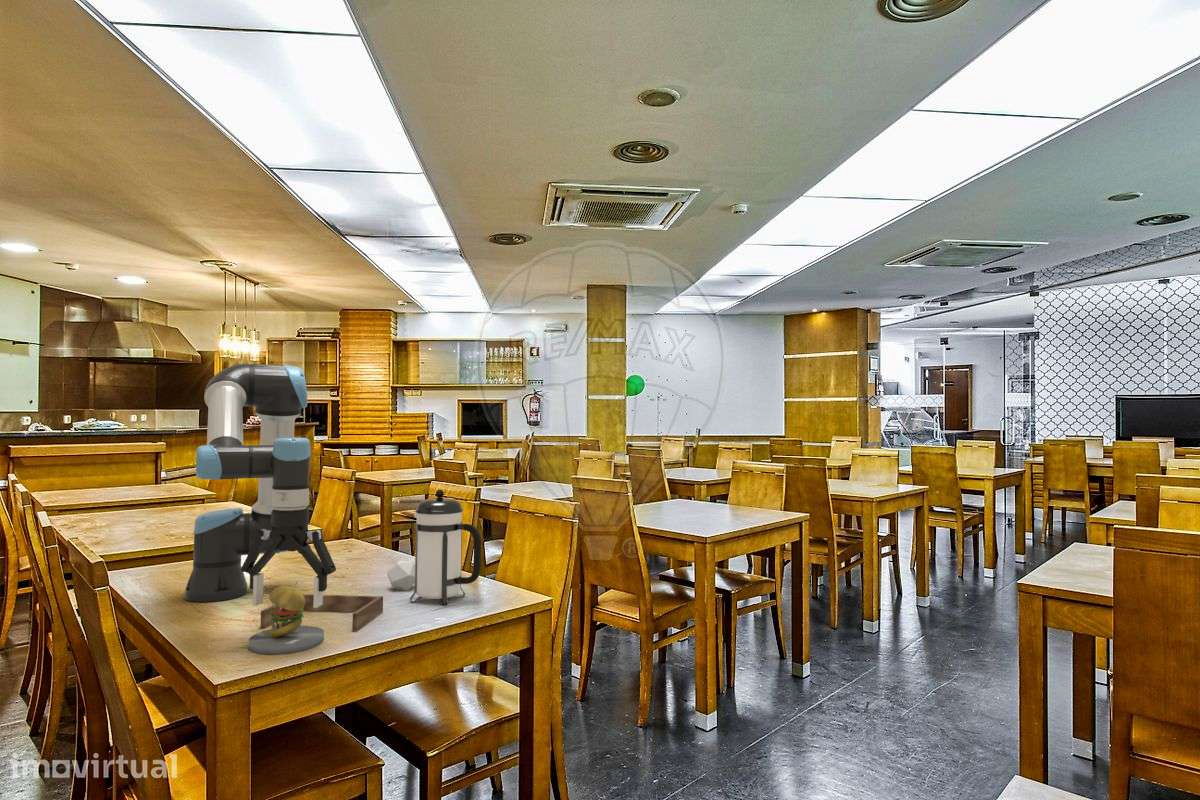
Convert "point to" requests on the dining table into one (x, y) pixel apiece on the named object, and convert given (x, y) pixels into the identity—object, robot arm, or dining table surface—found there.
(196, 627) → the dining table surface
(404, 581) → the die
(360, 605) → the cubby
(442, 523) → the coffee press
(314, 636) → the plate
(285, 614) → the hamburger
